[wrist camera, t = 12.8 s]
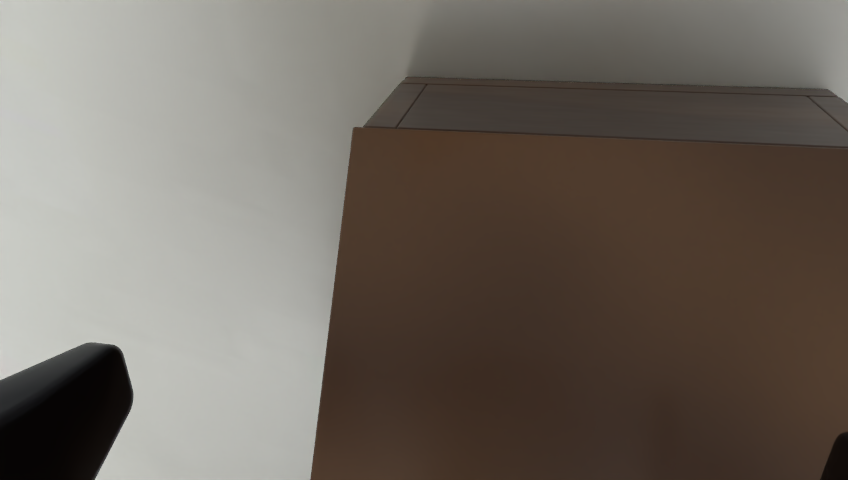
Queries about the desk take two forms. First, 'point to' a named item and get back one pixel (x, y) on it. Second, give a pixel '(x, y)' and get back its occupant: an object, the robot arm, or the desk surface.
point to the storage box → (619, 111)
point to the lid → (585, 310)
